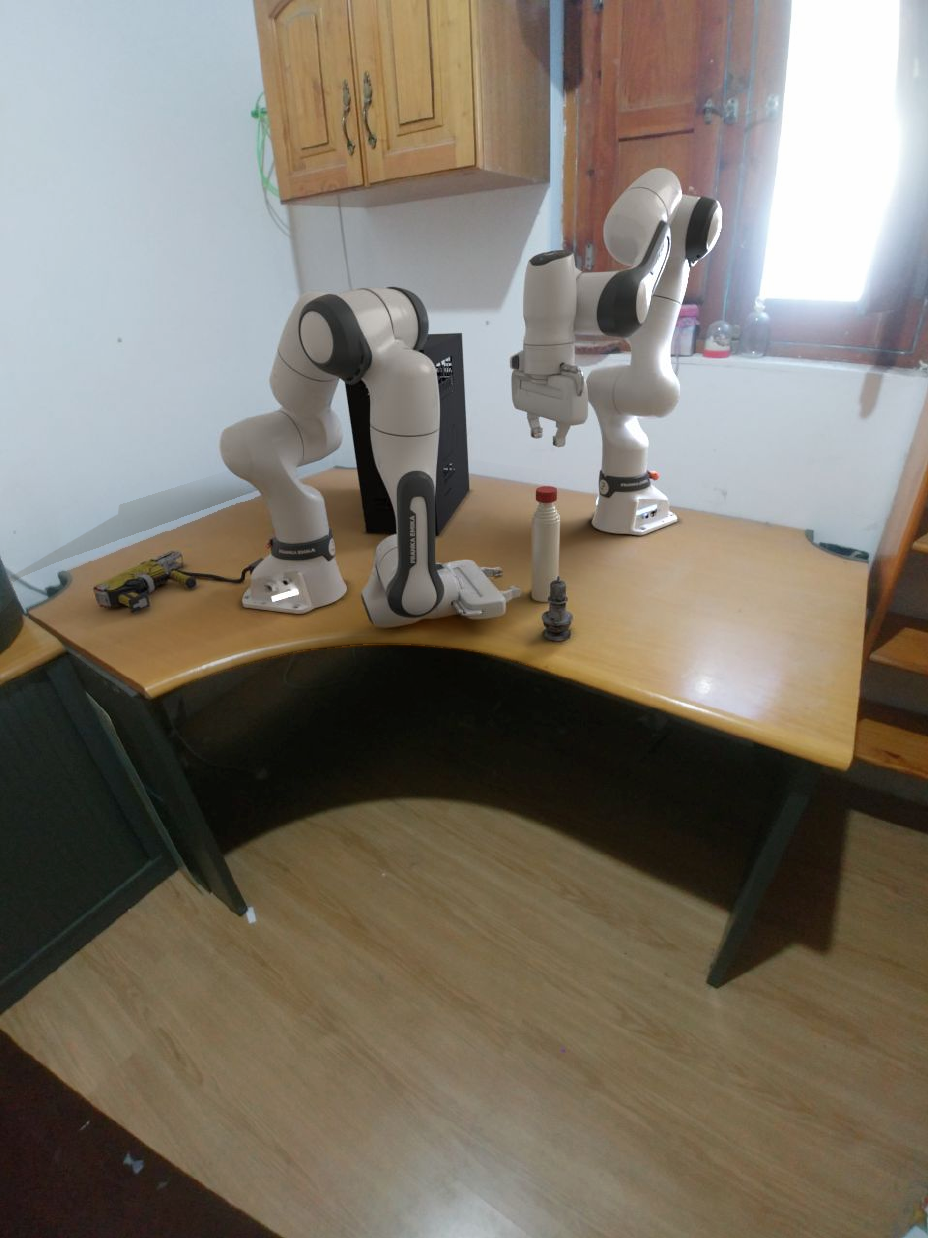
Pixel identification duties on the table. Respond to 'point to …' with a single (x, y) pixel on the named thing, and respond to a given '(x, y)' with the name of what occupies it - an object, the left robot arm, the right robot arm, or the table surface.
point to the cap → (546, 494)
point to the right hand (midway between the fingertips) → (547, 441)
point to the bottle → (544, 550)
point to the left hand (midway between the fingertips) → (510, 581)
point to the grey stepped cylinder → (557, 613)
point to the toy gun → (141, 582)
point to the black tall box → (450, 443)
